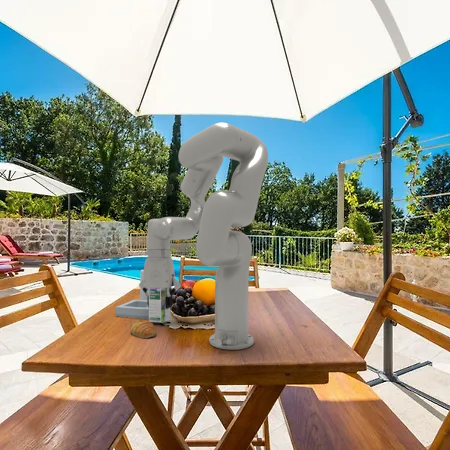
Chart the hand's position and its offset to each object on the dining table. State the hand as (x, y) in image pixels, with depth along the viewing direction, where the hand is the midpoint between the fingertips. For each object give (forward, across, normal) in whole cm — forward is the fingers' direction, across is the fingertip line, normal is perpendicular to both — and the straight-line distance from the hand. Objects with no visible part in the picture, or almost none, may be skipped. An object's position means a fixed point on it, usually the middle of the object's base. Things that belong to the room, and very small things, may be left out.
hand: (159, 306), depth 109 cm
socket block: (+5, -13, +9) cm, 17 cm away
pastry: (+6, 0, -11) cm, 13 cm away
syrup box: (+5, 0, 0) cm, 5 cm away
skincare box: (+5, -16, +23) cm, 29 cm away
